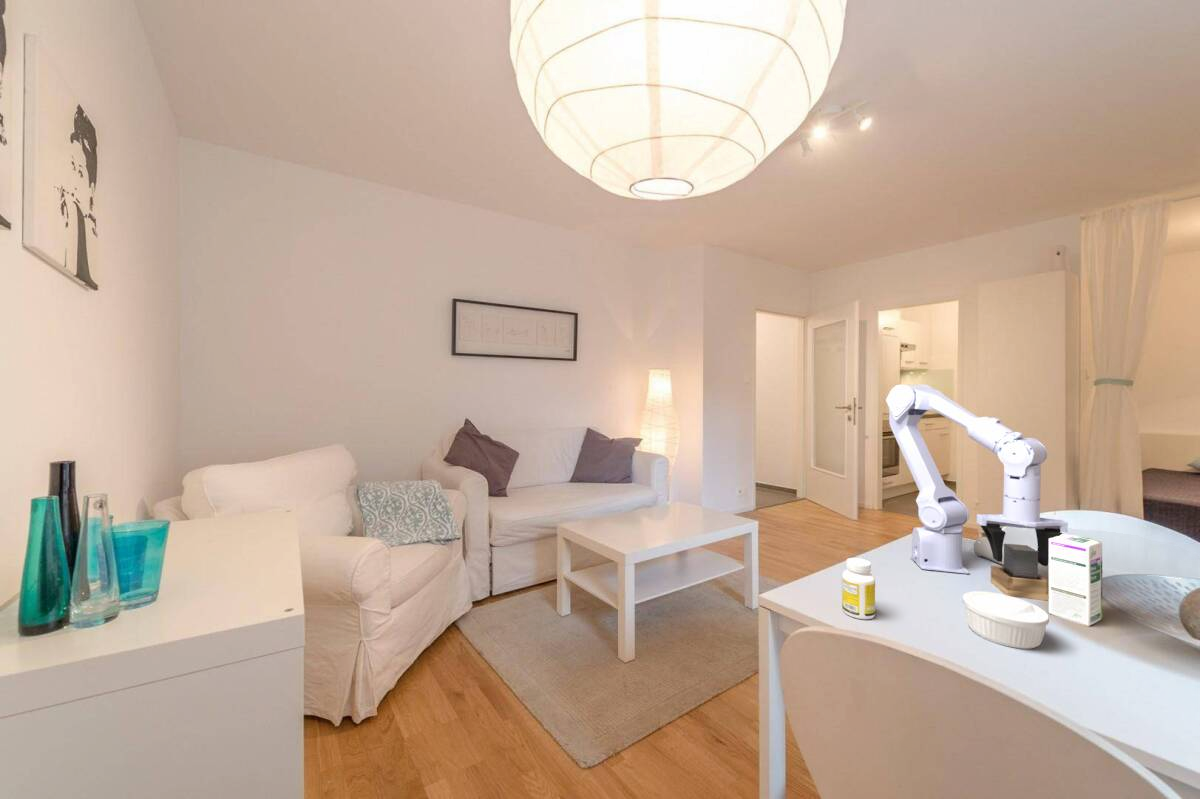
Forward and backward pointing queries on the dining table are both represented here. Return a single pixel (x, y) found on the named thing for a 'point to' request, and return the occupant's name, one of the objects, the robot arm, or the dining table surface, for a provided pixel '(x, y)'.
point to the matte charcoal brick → (1020, 561)
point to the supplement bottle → (858, 589)
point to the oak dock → (1020, 585)
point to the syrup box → (1075, 579)
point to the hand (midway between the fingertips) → (1019, 562)
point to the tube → (985, 551)
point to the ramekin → (1005, 619)
